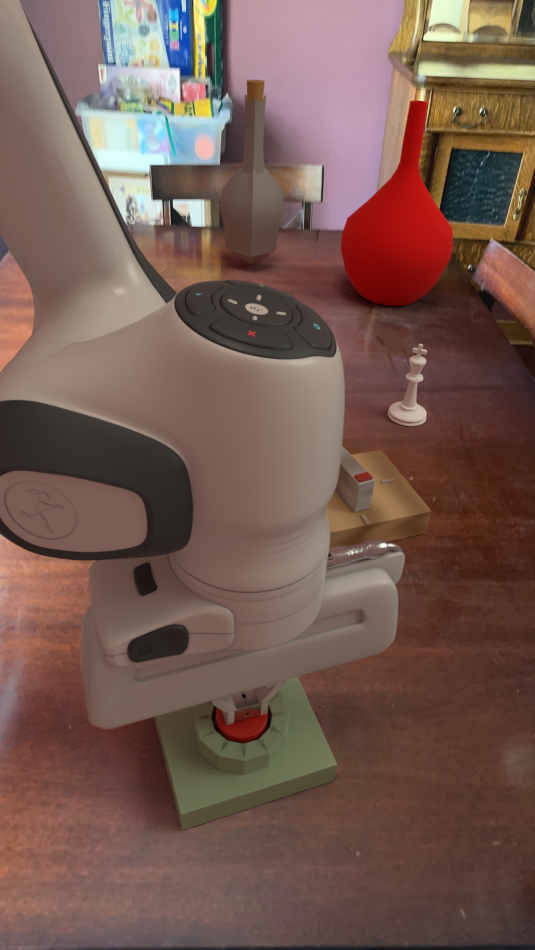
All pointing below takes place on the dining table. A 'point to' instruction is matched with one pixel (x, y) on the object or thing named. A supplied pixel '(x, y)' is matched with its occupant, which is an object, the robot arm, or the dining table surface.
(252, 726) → the button
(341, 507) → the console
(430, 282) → the vase
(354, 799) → the dining table surface
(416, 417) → the chess piece
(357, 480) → the red-tipped grey block
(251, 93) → the bottle
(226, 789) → the olive flat block
